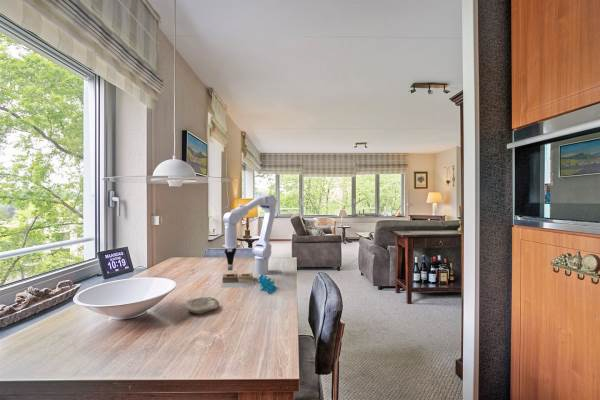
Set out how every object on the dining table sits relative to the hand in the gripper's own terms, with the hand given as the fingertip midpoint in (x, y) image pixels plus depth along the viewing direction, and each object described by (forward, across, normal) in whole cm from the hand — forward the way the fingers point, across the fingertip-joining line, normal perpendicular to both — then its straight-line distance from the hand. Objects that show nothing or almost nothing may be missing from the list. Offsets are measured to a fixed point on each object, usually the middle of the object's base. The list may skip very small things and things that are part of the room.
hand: (230, 263), depth 149 cm
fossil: (+10, +36, -8) cm, 38 cm away
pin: (+3, 0, 0) cm, 3 cm away
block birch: (+8, 0, +8) cm, 11 cm away
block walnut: (+8, 0, 0) cm, 8 cm away
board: (+9, +3, +4) cm, 10 cm away
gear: (+10, +18, +17) cm, 27 cm away
